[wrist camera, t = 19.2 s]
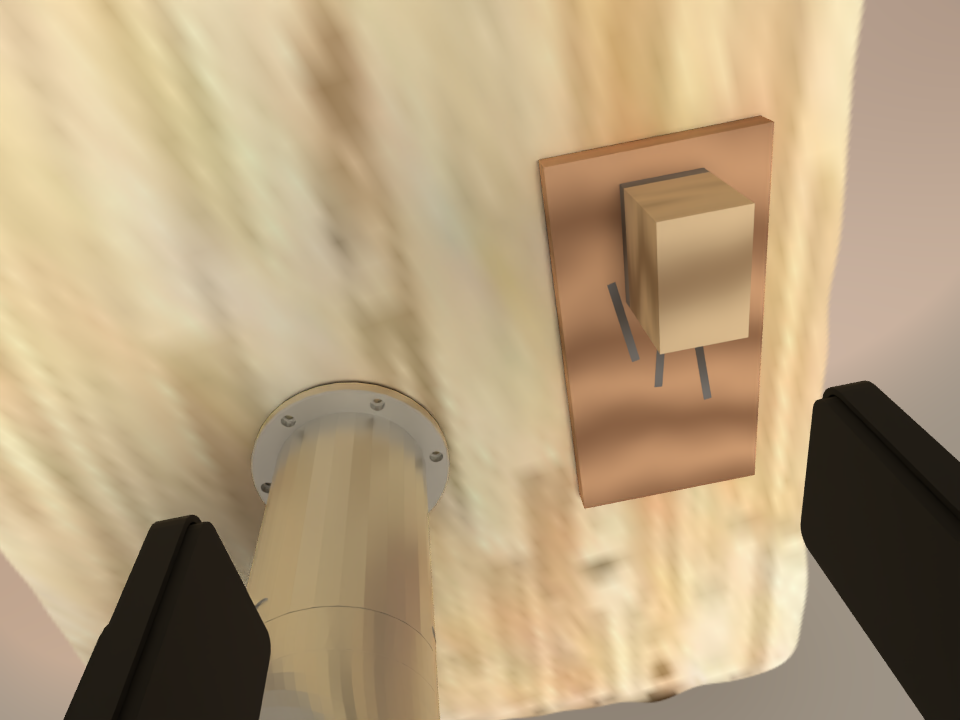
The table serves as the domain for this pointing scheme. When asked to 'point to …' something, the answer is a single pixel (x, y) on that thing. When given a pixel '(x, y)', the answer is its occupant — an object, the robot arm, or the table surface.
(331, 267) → the table surface
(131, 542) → the table surface
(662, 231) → the block
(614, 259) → the board
